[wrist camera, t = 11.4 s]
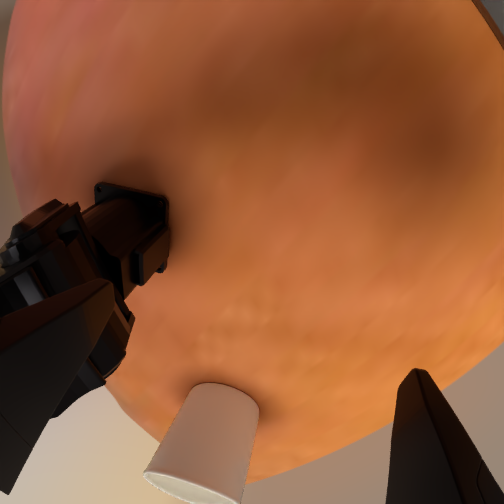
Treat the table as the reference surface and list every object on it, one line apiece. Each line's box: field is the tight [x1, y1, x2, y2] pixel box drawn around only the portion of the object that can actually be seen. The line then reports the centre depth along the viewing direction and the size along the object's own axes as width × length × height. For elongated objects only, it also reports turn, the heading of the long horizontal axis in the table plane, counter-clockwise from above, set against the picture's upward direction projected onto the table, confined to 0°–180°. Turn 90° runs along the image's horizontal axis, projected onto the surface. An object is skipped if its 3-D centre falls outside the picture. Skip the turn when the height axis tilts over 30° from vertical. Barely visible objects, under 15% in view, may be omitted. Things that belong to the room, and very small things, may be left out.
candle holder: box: [143, 383, 259, 504], centre depth 28 cm, size 10×10×12 cm
